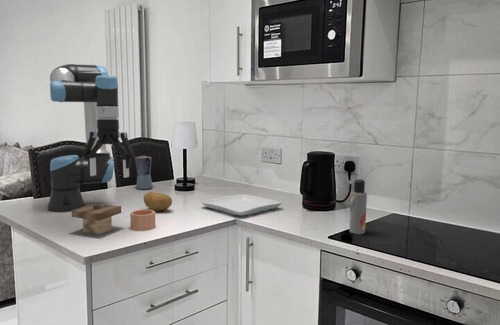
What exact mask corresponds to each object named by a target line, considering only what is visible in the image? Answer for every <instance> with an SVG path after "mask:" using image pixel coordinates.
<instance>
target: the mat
mask: <svg viewBox="0 0 500 325" xmlns="http://www.w3.org/2000/svg"><path fill="white" fill-rule="evenodd" d="M124 229H126V227H122V226H121V227H120V226H114V225H112V230H109V231H107V232H104V233H101V234H99V235H98V234H92V233H85V232H83V228H81V229H78V230H75V231H72V232H69V233H68V235H74V236H79V237H80V236H81V237H86V238H92V239H99V240H101V239H103V238H105V237H108V236H109V235H112V234H115V233H117V232H120V231H122V230H124Z"/></svg>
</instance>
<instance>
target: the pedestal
mask: <svg viewBox="0 0 500 325" xmlns="http://www.w3.org/2000/svg"><path fill="white" fill-rule="evenodd" d="M112 218H113V216H111V217H108V218H105V219H102V220H99V221H97V220H90V219H83V218H82V229H83V232H85V233H92V234H98V235H99V234H101V233H104V232H107V231H109V230H112V226H113V222H112Z"/></svg>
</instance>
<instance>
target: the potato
mask: <svg viewBox="0 0 500 325" xmlns="http://www.w3.org/2000/svg"><path fill="white" fill-rule="evenodd" d="M143 203H144V204H145V206H146V207H147V208H148V209H149V210H153V211H155V212H159V211H161V212H162V211H166V210H167V209H169V208H170V207H171V206H172V204H173V198H172V197H171V196H170V195H169V194H164V193H162V192H155V191H148V192H146V193H145V194H144V195H143Z"/></svg>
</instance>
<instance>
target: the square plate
mask: <svg viewBox="0 0 500 325" xmlns="http://www.w3.org/2000/svg"><path fill="white" fill-rule="evenodd" d="M200 203H201V205H203V206H204V207H206V208H208V209H212V210H216V211H219V212H223V213H225V214H229V215H234V216H237V215H239V217H241V216H242V217H243V216H244V215H246V216H250V215H254V214H253V213H255V214H258V213H257V212H259V213H262V212H261V211H263V212H266V211H265V210H267V211H270V210H272V209H276V208H278V207H280V206H281V205H282V204H283V202H282V201H278V200H275V199H270V198H266V197H262V196H255V195H250V194H245V193H244V194H243V193H242V194H234V195H227V196H221V197H215V198H212V199H206V200H202V201H200ZM269 209H270V210H269ZM249 214H250V215H249Z"/></svg>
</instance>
